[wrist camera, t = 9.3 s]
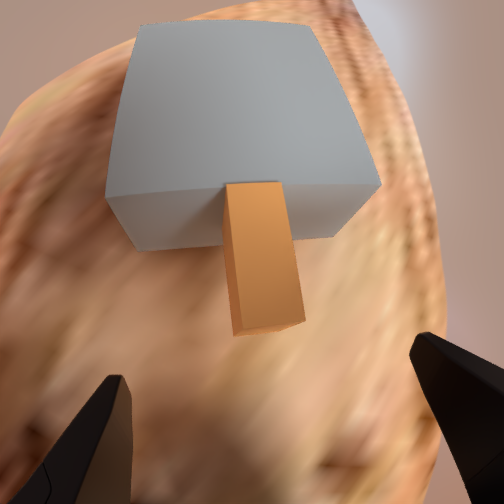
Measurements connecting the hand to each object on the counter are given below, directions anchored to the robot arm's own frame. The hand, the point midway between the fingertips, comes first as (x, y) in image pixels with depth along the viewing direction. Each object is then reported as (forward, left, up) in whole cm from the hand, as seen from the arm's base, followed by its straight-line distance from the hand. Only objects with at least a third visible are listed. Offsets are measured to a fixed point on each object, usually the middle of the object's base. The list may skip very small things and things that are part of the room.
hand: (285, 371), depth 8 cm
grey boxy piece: (+8, -6, -7) cm, 13 cm away
